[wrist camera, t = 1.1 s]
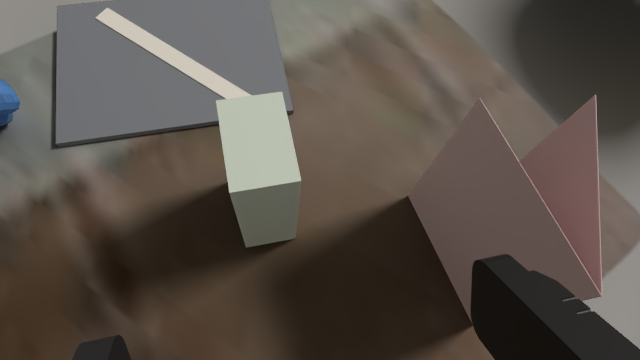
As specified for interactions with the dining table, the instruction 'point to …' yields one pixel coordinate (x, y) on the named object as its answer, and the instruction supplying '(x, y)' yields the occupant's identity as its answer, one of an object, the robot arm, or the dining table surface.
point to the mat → (160, 65)
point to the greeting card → (516, 202)
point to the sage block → (260, 167)
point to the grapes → (7, 103)
